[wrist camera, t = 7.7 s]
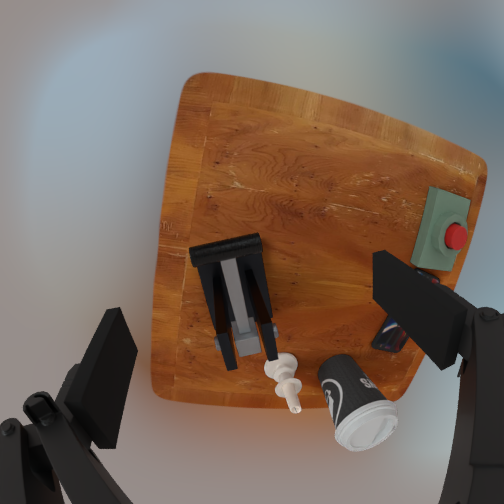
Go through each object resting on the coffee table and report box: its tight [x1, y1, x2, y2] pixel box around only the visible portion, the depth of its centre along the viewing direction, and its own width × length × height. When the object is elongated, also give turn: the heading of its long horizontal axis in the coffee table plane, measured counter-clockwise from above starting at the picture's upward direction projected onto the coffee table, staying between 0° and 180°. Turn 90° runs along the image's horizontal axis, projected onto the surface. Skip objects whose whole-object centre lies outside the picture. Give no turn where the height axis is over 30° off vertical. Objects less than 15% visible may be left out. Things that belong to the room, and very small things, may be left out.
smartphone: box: [372, 268, 440, 353], centre depth 46 cm, size 7×1×15 cm
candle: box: [264, 353, 302, 413], centre depth 41 cm, size 5×5×10 cm
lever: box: [189, 232, 263, 357], centre depth 26 cm, size 13×5×2 cm, turn 10°
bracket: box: [197, 253, 279, 371], centre depth 34 cm, size 11×8×14 cm
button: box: [444, 224, 467, 250], centre depth 38 cm, size 4×4×2 cm
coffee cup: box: [318, 354, 398, 451], centre depth 41 cm, size 10×10×15 cm
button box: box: [410, 186, 471, 271], centre depth 40 cm, size 12×8×4 cm, turn 170°
